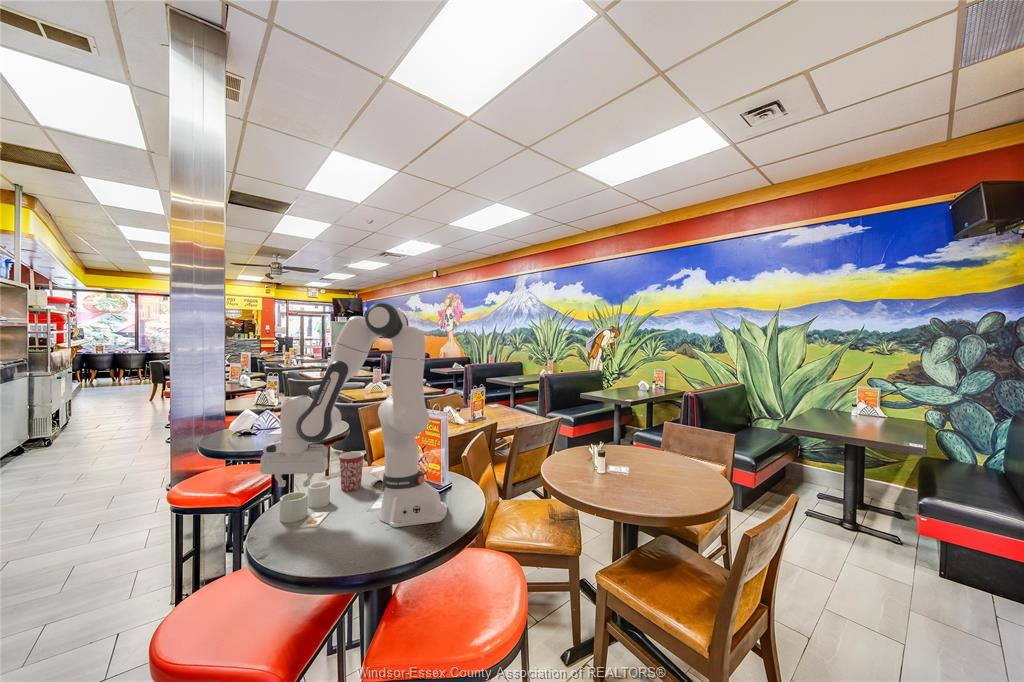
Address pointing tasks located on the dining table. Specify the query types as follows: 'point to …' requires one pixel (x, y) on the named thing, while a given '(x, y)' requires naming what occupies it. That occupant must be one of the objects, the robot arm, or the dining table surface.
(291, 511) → the tube green
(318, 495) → the tube grey
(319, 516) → the card
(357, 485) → the mug
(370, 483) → the dining table surface
